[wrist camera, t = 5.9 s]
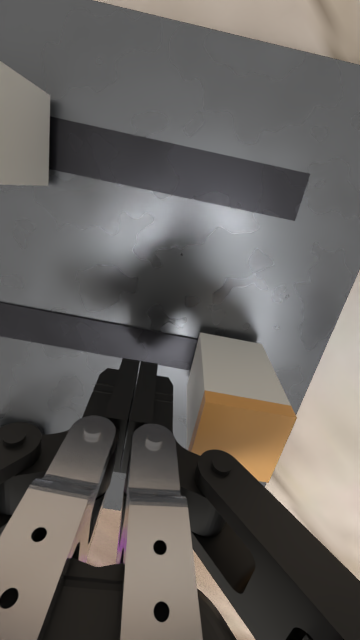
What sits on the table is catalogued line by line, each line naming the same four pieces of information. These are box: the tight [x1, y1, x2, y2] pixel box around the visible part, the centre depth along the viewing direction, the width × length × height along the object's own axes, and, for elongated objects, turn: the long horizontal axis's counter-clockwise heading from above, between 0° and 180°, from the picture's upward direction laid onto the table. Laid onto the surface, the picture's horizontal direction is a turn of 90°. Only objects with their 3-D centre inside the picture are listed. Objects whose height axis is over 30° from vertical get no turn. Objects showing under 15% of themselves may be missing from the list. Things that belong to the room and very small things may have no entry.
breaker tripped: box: [187, 332, 297, 483], centre depth 13 cm, size 3×3×5 cm
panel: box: [0, 0, 360, 511], centre depth 16 cm, size 20×25×2 cm
